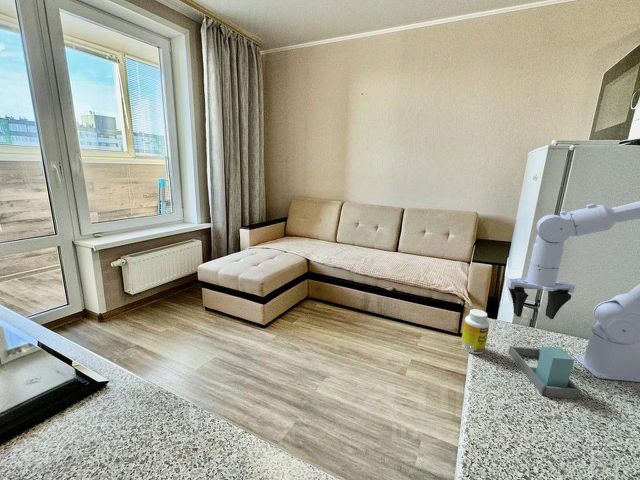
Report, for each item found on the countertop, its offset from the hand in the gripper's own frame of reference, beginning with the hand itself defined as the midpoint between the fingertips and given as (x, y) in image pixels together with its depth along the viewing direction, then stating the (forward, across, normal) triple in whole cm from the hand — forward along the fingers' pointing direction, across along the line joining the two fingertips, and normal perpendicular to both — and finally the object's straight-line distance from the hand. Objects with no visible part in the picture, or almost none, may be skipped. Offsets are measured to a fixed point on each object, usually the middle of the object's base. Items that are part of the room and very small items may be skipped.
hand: (533, 315), depth 77 cm
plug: (+9, -2, -14) cm, 17 cm away
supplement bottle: (+10, -14, -2) cm, 17 cm away
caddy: (+9, -2, -10) cm, 14 cm away
